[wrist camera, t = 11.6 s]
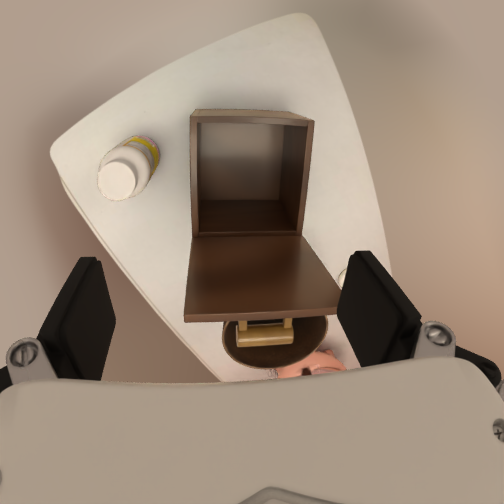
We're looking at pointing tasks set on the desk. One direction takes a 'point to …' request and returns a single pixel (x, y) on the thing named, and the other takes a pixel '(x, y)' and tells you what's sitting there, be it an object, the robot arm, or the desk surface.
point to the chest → (249, 172)
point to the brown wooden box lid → (257, 285)
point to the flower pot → (277, 356)
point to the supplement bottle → (127, 168)
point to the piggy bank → (312, 365)
